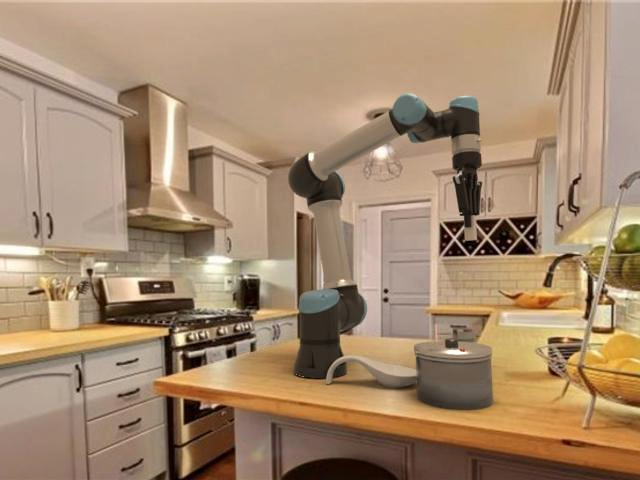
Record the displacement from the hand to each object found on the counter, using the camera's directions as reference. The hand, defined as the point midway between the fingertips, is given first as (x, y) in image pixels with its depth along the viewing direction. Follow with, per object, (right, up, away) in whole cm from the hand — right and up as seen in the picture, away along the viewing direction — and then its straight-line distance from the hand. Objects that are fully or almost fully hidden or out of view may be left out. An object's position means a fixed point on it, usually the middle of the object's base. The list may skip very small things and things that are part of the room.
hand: (470, 240), depth 110 cm
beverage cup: (-9, -37, 0) cm, 38 cm away
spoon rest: (-27, -37, -6) cm, 46 cm away
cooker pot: (-11, -35, -19) cm, 41 cm away
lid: (-11, -25, -18) cm, 33 cm away
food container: (+5, -38, +17) cm, 42 cm away
